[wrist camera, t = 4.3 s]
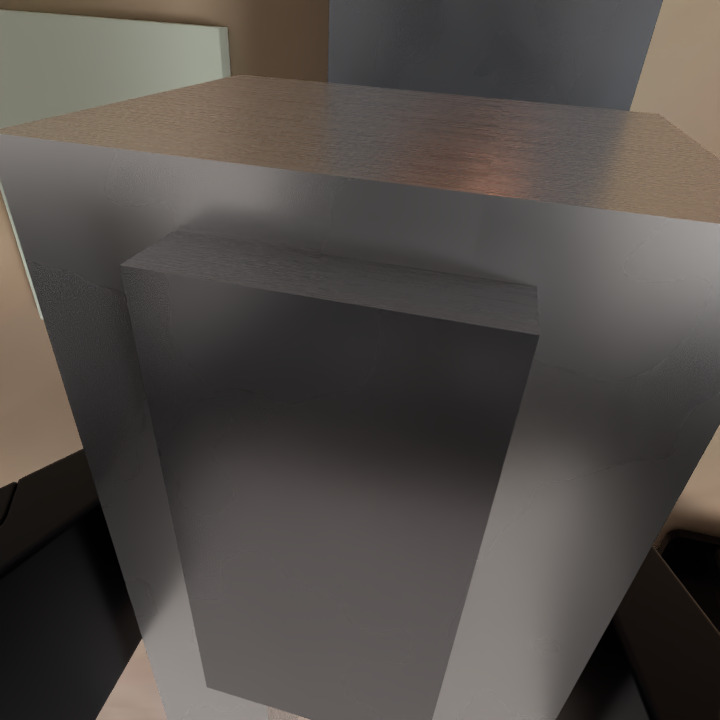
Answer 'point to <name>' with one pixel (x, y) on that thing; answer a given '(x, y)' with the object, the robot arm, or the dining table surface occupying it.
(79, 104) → the rubber mat
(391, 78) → the hand plane
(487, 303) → the lever cap
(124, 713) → the dining table surface
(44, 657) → the robot arm
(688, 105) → the dining table surface
